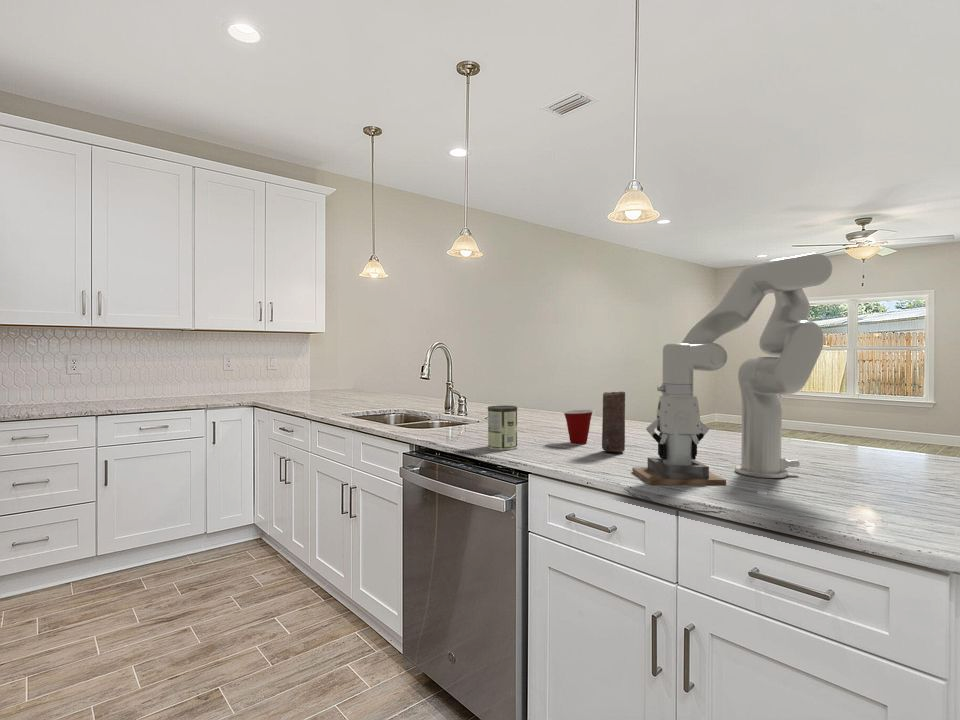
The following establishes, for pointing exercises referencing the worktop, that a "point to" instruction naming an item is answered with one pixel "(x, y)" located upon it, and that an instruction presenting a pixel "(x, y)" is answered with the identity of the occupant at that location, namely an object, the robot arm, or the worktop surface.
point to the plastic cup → (578, 425)
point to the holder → (677, 474)
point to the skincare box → (678, 449)
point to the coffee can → (502, 427)
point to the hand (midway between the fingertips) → (677, 458)
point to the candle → (613, 422)
